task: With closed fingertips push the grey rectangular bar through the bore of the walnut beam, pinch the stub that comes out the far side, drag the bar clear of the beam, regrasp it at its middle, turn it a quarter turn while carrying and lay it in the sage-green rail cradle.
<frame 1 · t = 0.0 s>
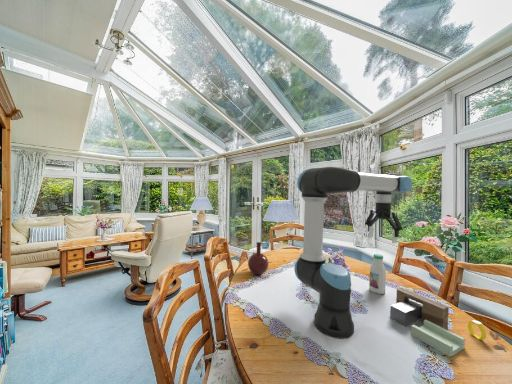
hand: (382, 240, 119), 28 cm above the table, fingers open, 13 cm apart
grey rectangular bar: (409, 317, 93), on the table
milk bottle: (377, 291, 118), on the table
cradle: (436, 341, 79), on the table
round-bottom flask: (257, 274, 137), on the table
yellow ring: (476, 337, 82), on the table
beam: (419, 317, 93), on the table
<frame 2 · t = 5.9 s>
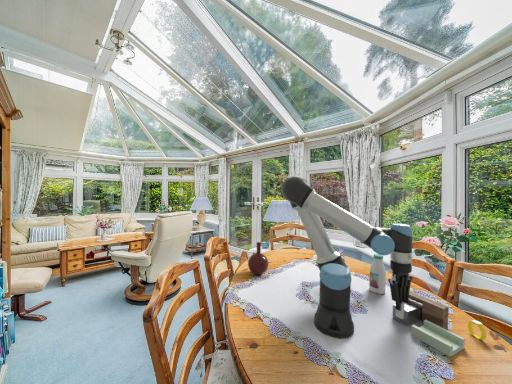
hand: (399, 316, 89), 2 cm above the table, fingers closed
grey rectangular bar: (412, 317, 94), on the table, touching gripper
everything else where it was.
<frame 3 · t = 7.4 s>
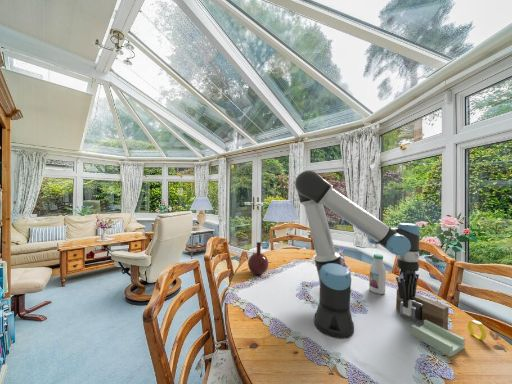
hand: (407, 314, 92), 2 cm above the table, fingers closed
grey rectangular bar: (418, 314, 96), on the table, touching gripper
everything else where it was.
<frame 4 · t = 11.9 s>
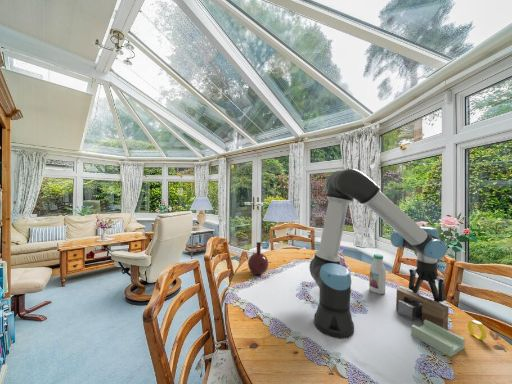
hand: (425, 310, 99), 1 cm above the table, fingers closed on grey rectangular bar, 6 cm apart
grey rectangular bar: (417, 313, 97), on the table, touching gripper
everything else where it was.
when the fingers open (0 cm above the table, at t = 14.4 s): grey rectangular bar stays where it is, on the table.
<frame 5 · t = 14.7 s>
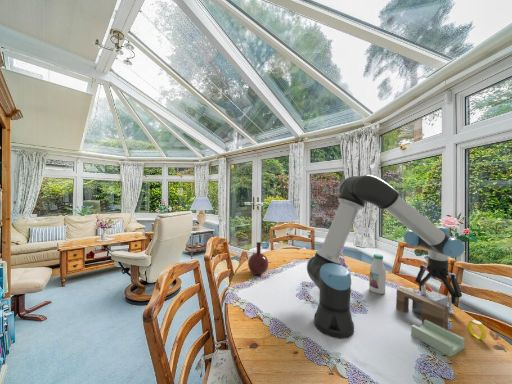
hand: (436, 303, 103), 1 cm above the table, fingers open, 10 cm apart
grey rectangular bar: (430, 309, 101), on the table
everything else where it was.
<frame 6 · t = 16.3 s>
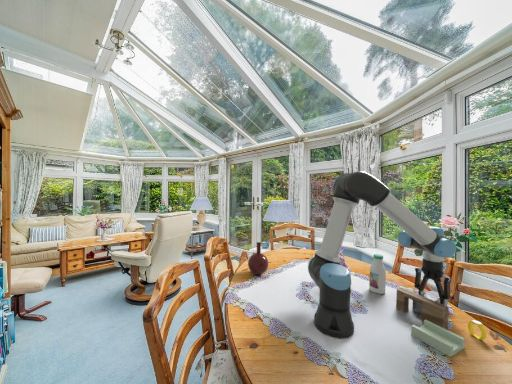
hand: (430, 307, 101), 0 cm above the table, fingers closed on grey rectangular bar, 6 cm apart
grey rectangular bar: (430, 309, 101), on the table, touching gripper
everything else where it was.
when the fingers open (4 cm above the table, at t = 21.6 s): grey rectangular bar drops 2 cm, resting on cradle.
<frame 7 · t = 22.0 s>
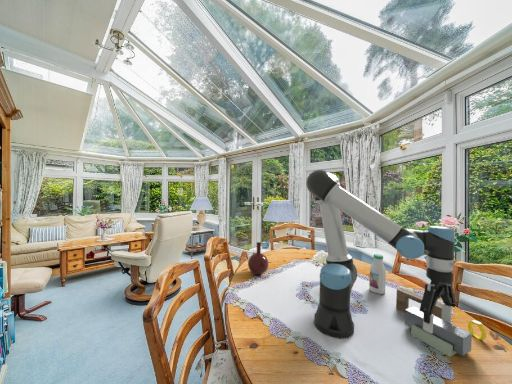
hand: (437, 326, 79), 5 cm above the table, fingers open, 12 cm apart
grey rectangular bar: (434, 336, 79), point 1 cm above the table, touching cradle
everything else where it was.
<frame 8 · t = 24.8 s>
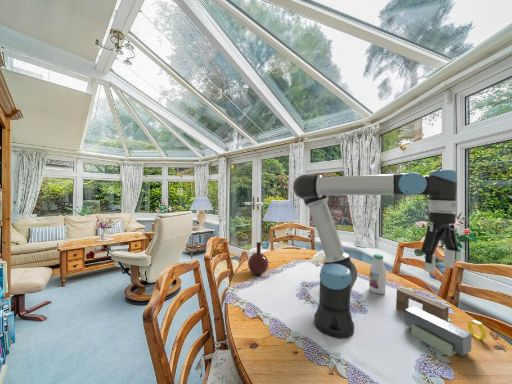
hand: (439, 269, 78), 27 cm above the table, fingers open, 13 cm apart
nothing on the table moved.
at the end: grey rectangular bar inside the target area on the cradle (0.6 cm from its centre), point 1.5 cm above the cradle's base; grey rectangular bar touching cradle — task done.
